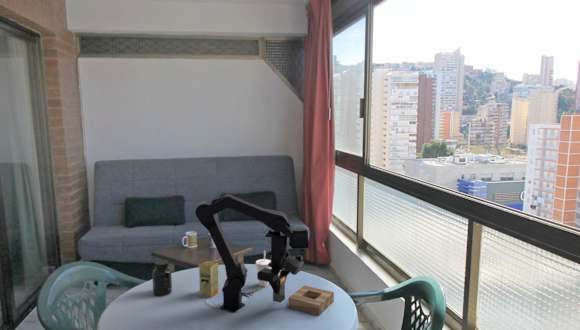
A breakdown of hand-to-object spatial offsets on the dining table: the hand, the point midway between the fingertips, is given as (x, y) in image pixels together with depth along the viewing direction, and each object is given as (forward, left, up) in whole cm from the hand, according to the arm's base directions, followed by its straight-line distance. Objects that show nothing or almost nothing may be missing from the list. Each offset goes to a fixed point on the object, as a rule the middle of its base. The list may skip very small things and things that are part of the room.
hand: (278, 291), depth 144 cm
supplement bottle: (-12, +44, -6) cm, 46 cm away
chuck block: (+8, -9, -6) cm, 13 cm away
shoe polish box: (-4, +28, -6) cm, 29 cm away
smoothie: (+13, +15, -6) cm, 21 cm away
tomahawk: (+11, +13, -6) cm, 18 cm away
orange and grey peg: (0, 0, -3) cm, 3 cm away
